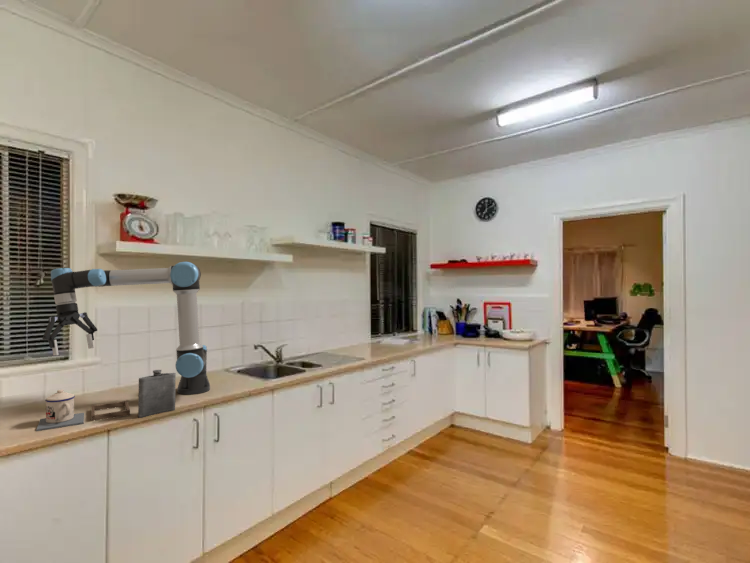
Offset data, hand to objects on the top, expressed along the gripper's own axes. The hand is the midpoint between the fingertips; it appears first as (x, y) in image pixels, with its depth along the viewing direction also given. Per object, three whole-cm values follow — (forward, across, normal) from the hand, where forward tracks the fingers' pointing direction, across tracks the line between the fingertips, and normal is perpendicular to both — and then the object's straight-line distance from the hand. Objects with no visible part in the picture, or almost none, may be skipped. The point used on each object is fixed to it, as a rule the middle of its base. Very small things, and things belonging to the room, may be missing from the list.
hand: (74, 351), depth 176 cm
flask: (+31, -10, +34) cm, 47 cm away
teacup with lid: (+25, +14, +12) cm, 31 cm away
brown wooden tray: (+28, -2, +17) cm, 32 cm away
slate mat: (+26, +14, +13) cm, 32 cm away
